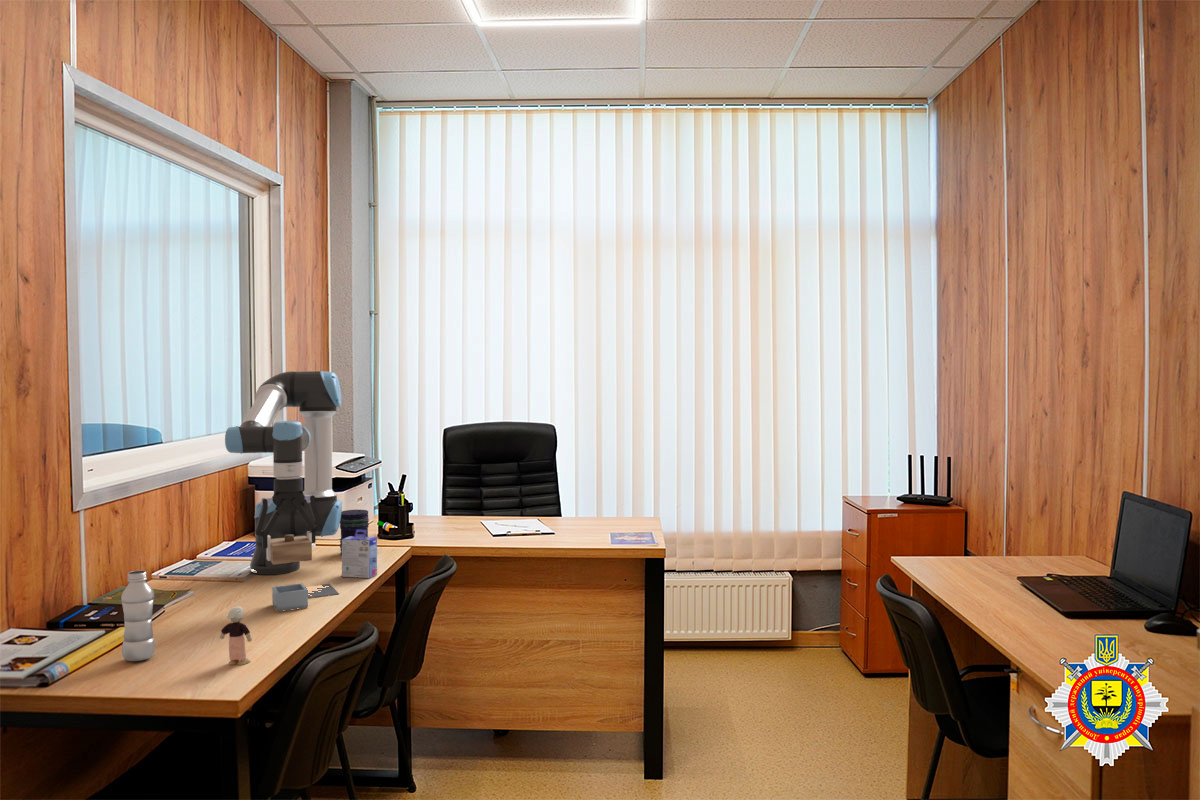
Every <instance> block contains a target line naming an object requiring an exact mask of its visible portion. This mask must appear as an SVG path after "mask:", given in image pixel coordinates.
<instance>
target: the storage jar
mask: <svg viewBox="0 0 1200 800" xmlns="http://www.w3.org/2000/svg"><path fill="white" fill-rule="evenodd" d="M369 525H370V524H369V510H366V509H347V510H342V512H341V519H340V524H339V529H340V540H339V542H340V544H339V548H340V556H341V555H342V539H344V538H346V537H350V536H352V537H354V536H355V533H356V530H357V529H358V530H367V531H366V537H369V529H368V528H369ZM357 534H364V532H358V533H357Z"/></svg>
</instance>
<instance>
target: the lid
mask: <svg viewBox="0 0 1200 800" xmlns="http://www.w3.org/2000/svg"><path fill="white" fill-rule="evenodd" d="M312 544H313V543H312V542H311V541H310V540H309V539H308V538H307V537H306V536H297V537H294V535H292V534H290V535H285V538H276V539H271V562H272V564H273V565H274V564H283V563H292V562H300V563H301V562H309V561H312V560H313V545H312Z"/></svg>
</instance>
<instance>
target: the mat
mask: <svg viewBox="0 0 1200 800" xmlns="http://www.w3.org/2000/svg"><path fill="white" fill-rule="evenodd" d="M321 585H322V586H323V587H325V586H329V587H326V588H317V589H322V590H318V591H321V592H318V591H312V592H314V593H308V594H310V595H312V596H310V595H308V599H312V598H311V597H315V598H321V597H320V596H323V597H329V596H328V595H330V596H337V595H340V593H339V592H338V590H336V589H335V588H334V586H332V584H330V582H329V583H322V584H321Z"/></svg>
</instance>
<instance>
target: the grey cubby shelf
mask: <svg viewBox="0 0 1200 800" xmlns="http://www.w3.org/2000/svg"><path fill="white" fill-rule="evenodd" d="M271 590H272V591H271V593H272V594H271V595H272V597H271V598H272V604H273V605H272V606H273V608H274V607H275V608H274V609H276V610H277V611H281V612H284V611H283V610H289V611H292V610H291V609H296V610H298V609H297V608H303V609H307V608H306V607H308V608H309V605H308V604H309V598H308V590H307V588H306V586H305V585H304V583H303V582H301V583H293V584H284V585H277V586H271ZM276 610H275V611H276ZM277 611H276V612H277Z"/></svg>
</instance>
